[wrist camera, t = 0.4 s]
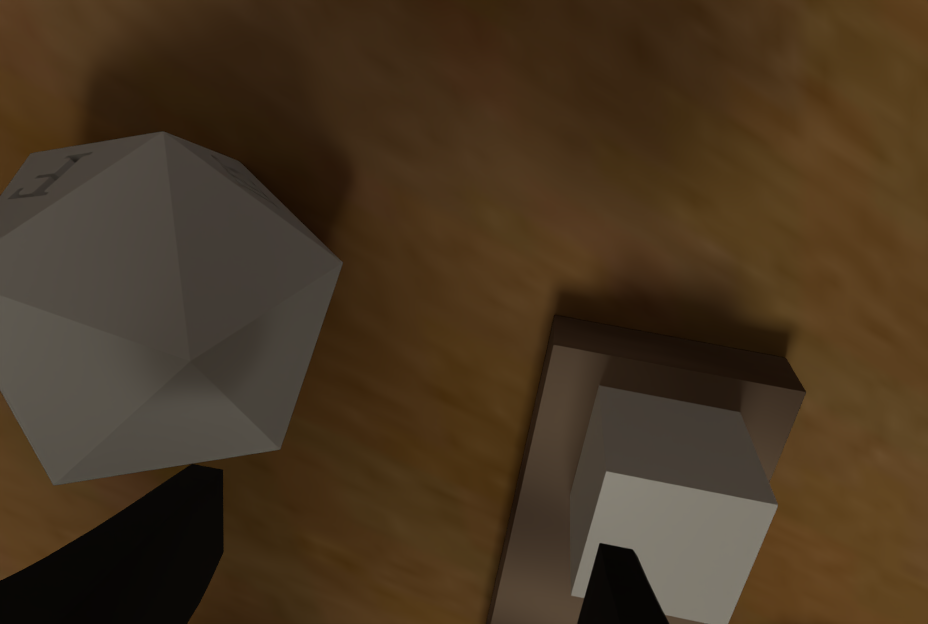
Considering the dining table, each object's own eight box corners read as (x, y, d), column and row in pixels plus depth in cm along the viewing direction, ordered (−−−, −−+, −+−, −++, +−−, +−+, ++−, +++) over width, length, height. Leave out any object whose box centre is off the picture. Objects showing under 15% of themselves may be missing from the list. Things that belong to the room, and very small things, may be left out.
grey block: (700, 521, 22) (726, 627, 18) (569, 496, 22) (570, 595, 19) (740, 412, 20) (777, 505, 17) (598, 385, 20) (606, 471, 17)
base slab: (663, 675, 28) (670, 724, 26) (483, 637, 28) (477, 682, 26) (786, 358, 22) (806, 392, 20) (554, 314, 22) (553, 344, 20)
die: (411, 174, 21) (93, 24, 13) (388, 480, 21) (35, 537, 12) (214, 193, 26) (-122, 90, 17) (190, 446, 25) (-174, 471, 16)
